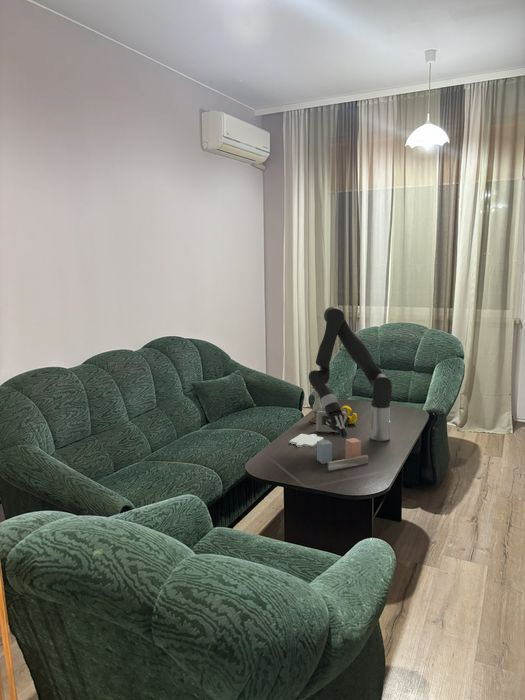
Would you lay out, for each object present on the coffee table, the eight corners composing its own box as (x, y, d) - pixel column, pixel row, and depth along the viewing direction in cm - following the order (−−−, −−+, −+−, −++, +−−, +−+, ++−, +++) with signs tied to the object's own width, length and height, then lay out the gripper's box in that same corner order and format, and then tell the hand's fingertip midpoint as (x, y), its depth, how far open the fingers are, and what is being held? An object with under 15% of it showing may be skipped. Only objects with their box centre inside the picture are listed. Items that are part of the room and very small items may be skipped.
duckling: (335, 423, 301) (335, 406, 300) (339, 420, 306) (339, 403, 304) (355, 426, 296) (355, 408, 294) (358, 423, 301) (358, 406, 299)
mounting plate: (303, 435, 283) (303, 432, 282) (326, 439, 276) (326, 436, 276) (286, 446, 268) (286, 442, 267) (310, 450, 261) (310, 446, 261)
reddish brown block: (345, 458, 248) (345, 439, 246) (354, 456, 250) (354, 437, 248) (351, 461, 243) (351, 442, 242) (360, 460, 245) (361, 441, 243)
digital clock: (314, 432, 287) (314, 413, 285) (318, 427, 295) (318, 408, 293) (344, 435, 282) (345, 415, 280) (348, 430, 290) (348, 410, 288)
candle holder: (324, 423, 301) (324, 388, 297) (308, 423, 302) (308, 387, 299) (325, 419, 309) (326, 384, 306) (310, 418, 311) (310, 384, 307)
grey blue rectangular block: (316, 460, 246) (316, 441, 244) (326, 458, 248) (326, 439, 246) (322, 463, 241) (322, 444, 240) (332, 462, 243) (332, 443, 242)
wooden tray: (313, 461, 246) (313, 452, 246) (351, 454, 254) (351, 446, 253) (329, 472, 234) (329, 463, 233) (368, 464, 242) (368, 456, 241)
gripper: (321, 403, 255) (335, 435, 246) (345, 399, 261) (359, 431, 252) (316, 411, 261) (329, 443, 252) (339, 407, 266) (353, 438, 257)
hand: (344, 437), depth 252 cm, fingers closed
